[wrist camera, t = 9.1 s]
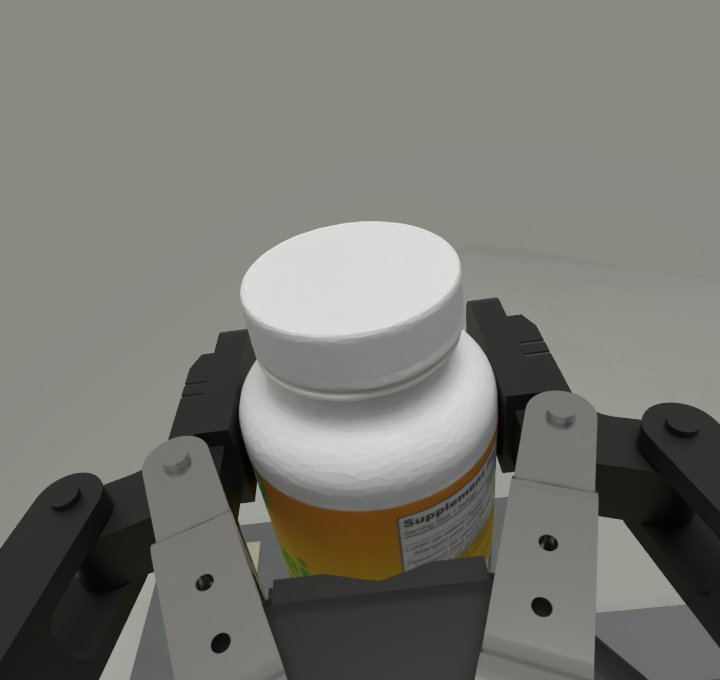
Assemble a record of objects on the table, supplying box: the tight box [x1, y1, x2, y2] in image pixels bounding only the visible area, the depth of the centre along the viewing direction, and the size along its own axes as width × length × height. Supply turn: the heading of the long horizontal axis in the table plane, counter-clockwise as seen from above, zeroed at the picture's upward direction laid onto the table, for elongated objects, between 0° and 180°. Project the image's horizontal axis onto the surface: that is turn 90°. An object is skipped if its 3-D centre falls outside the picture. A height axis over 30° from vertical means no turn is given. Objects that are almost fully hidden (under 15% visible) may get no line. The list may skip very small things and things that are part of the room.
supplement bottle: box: [239, 221, 498, 581], centre depth 13 cm, size 5×5×10 cm
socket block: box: [130, 497, 508, 680], centre depth 24 cm, size 18×14×2 cm
